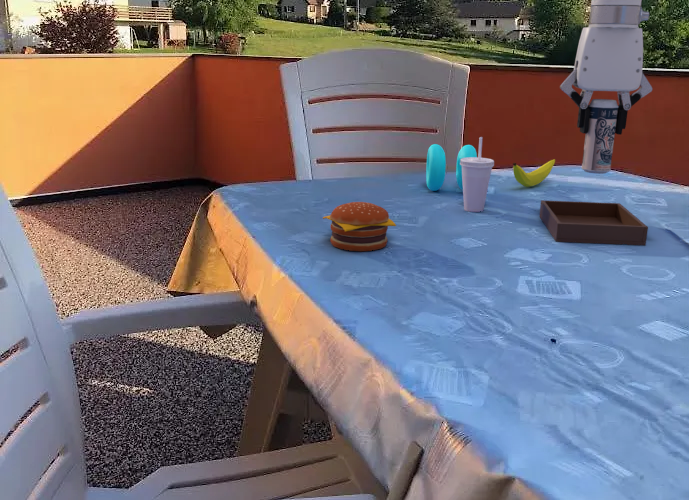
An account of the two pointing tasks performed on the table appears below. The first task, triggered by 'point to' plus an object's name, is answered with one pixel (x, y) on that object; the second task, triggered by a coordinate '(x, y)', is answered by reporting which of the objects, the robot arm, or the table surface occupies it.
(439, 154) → the donuts
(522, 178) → the banana
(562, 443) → the table surface
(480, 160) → the smoothie
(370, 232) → the hamburger
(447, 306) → the table surface
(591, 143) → the beer can
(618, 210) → the tray
